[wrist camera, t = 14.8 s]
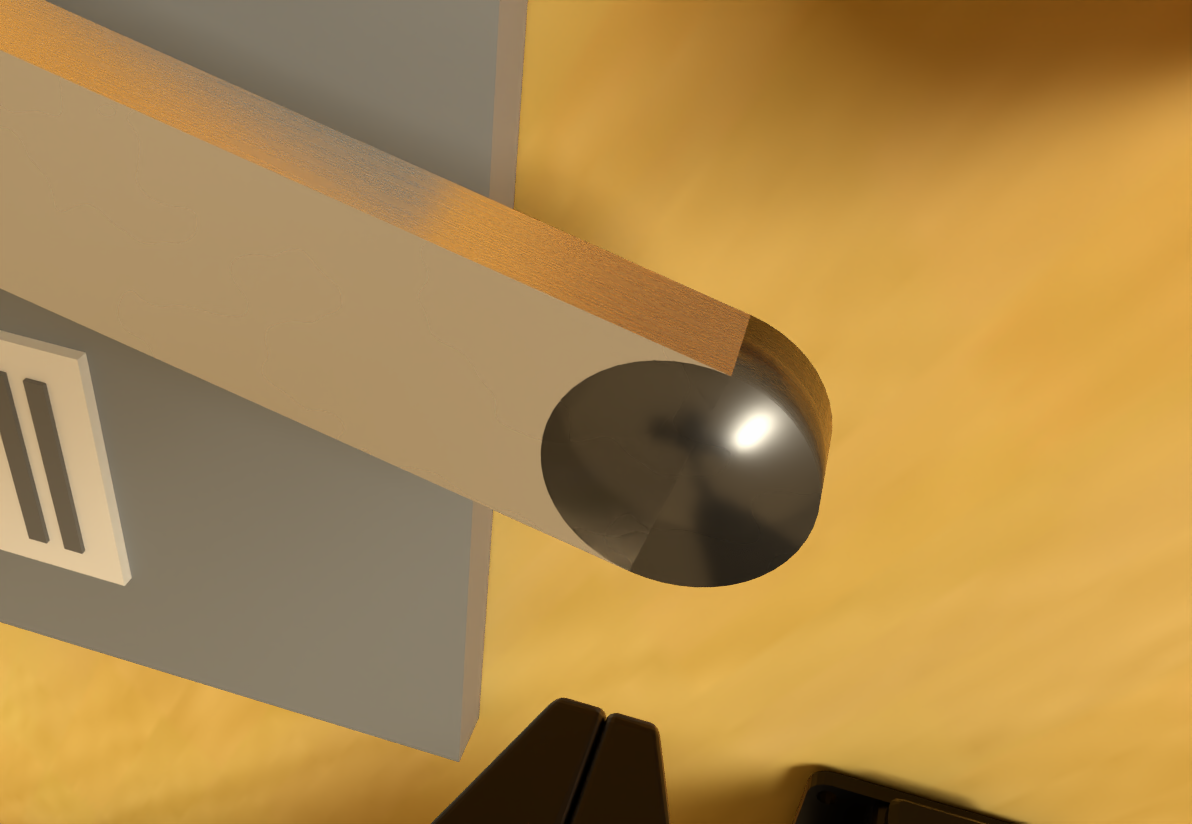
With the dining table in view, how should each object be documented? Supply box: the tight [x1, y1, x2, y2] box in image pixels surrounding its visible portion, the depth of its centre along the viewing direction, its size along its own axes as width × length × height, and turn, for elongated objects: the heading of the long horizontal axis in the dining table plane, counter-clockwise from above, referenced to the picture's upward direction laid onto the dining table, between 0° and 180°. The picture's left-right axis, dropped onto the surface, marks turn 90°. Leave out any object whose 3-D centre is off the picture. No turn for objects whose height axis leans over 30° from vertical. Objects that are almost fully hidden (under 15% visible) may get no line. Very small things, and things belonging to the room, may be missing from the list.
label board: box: [0, 0, 528, 762], centre depth 24 cm, size 22×20×4 cm
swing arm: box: [0, 0, 832, 587], centre depth 16 cm, size 21×4×4 cm, turn 71°
